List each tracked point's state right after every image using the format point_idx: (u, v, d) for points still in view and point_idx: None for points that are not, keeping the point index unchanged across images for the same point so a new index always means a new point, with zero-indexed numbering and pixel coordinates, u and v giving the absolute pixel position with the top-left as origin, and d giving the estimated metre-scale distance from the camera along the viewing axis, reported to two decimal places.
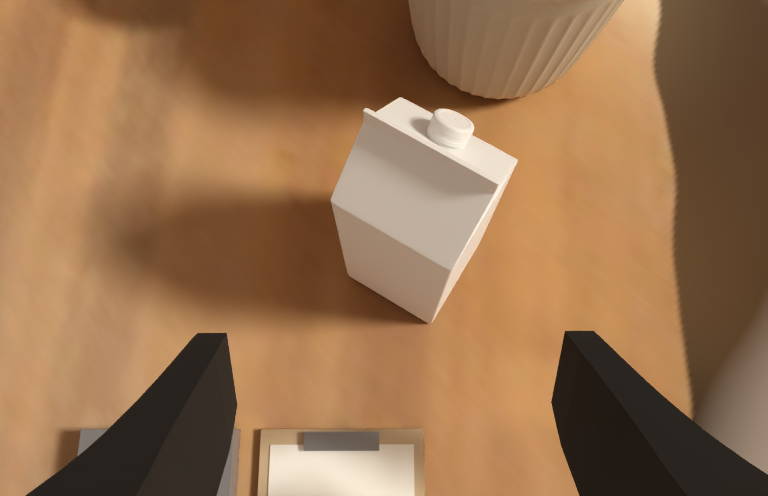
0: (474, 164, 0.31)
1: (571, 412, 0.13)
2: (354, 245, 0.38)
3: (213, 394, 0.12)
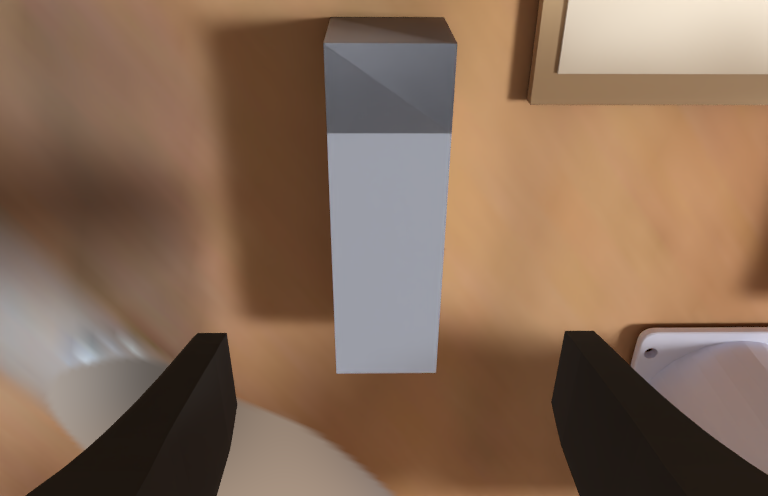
0: None
1: (571, 412, 0.13)
2: None
3: (213, 394, 0.12)
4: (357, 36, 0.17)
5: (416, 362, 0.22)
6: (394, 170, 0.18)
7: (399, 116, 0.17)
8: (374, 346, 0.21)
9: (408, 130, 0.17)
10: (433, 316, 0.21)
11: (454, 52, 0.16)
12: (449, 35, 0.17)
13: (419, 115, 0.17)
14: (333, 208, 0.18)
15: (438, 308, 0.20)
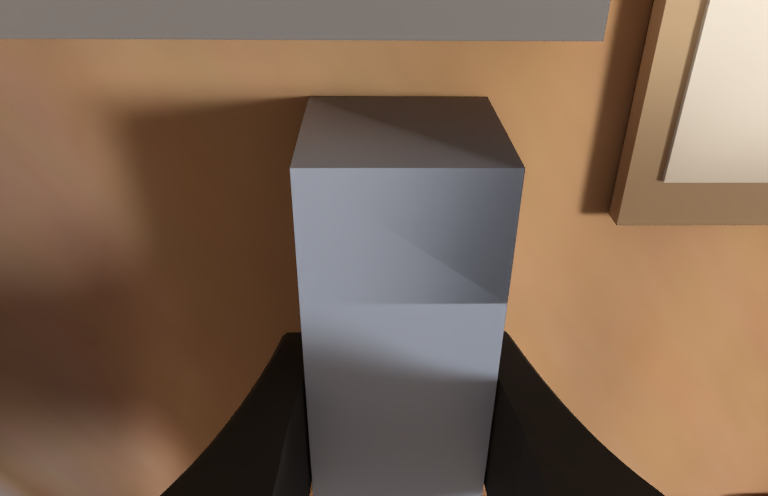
0: None
1: None
2: None
3: None
4: (350, 148, 0.10)
5: None
6: (410, 354, 0.11)
7: (421, 279, 0.10)
8: None
9: (435, 299, 0.10)
10: None
11: (519, 182, 0.09)
12: (506, 144, 0.10)
13: (455, 277, 0.10)
14: (312, 407, 0.12)
15: None
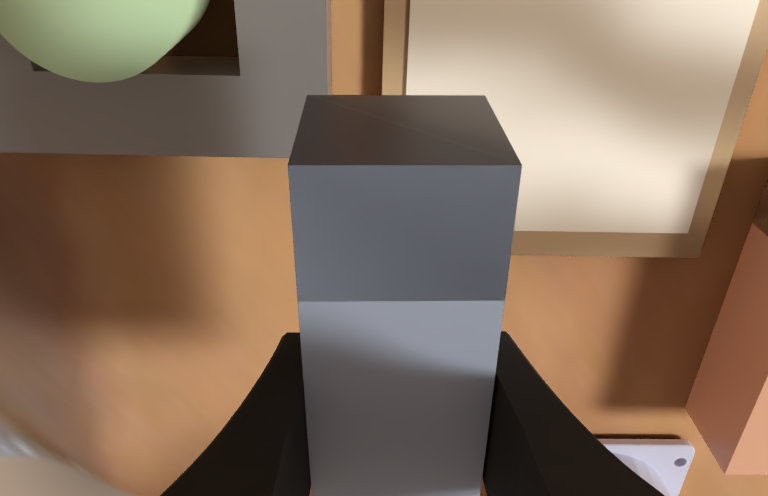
0: None
1: None
2: None
3: None
4: (348, 145, 0.10)
5: None
6: (408, 352, 0.11)
7: (418, 276, 0.10)
8: None
9: (432, 296, 0.10)
10: None
11: (516, 179, 0.09)
12: (503, 141, 0.10)
13: (452, 274, 0.10)
14: (310, 405, 0.12)
15: None
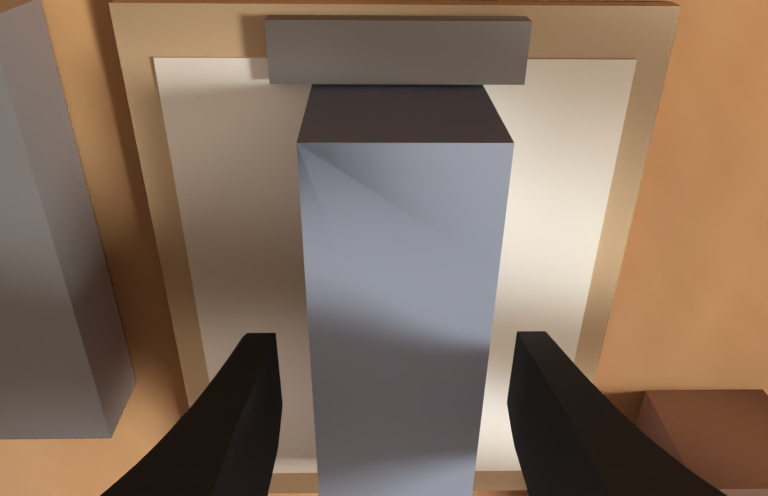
0: None
1: (522, 413, 0.13)
2: None
3: (266, 394, 0.12)
4: (352, 125, 0.11)
5: None
6: (408, 322, 0.12)
7: (418, 248, 0.11)
8: None
9: (431, 268, 0.11)
10: None
11: (509, 156, 0.10)
12: (497, 122, 0.11)
13: (449, 247, 0.11)
14: (316, 373, 0.12)
15: (469, 495, 0.14)
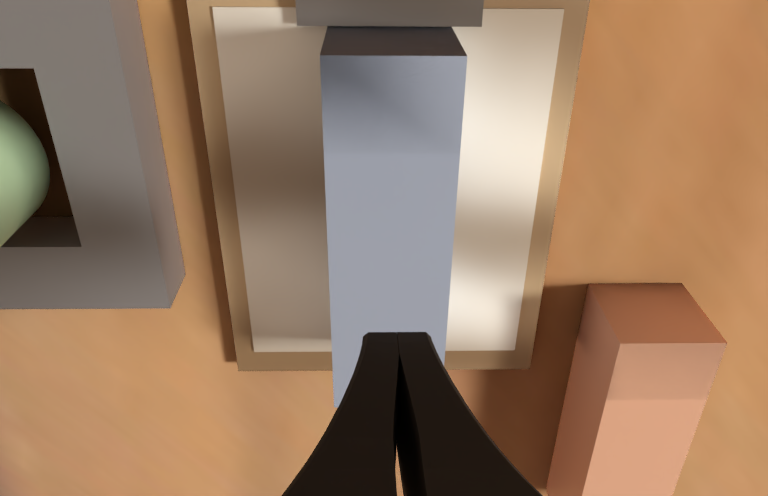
0: None
1: (398, 413, 0.13)
2: None
3: (397, 392, 0.12)
4: (357, 47, 0.15)
5: None
6: (397, 192, 0.16)
7: (403, 135, 0.16)
8: None
9: (412, 150, 0.16)
10: (439, 348, 0.19)
11: (464, 65, 0.15)
12: (458, 46, 0.15)
13: (425, 134, 0.16)
14: (330, 233, 0.17)
15: (444, 339, 0.19)
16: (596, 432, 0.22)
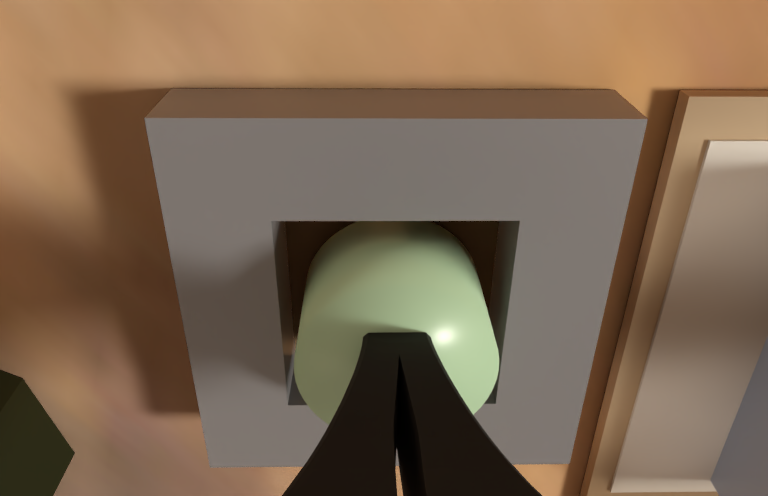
0: None
1: (398, 413, 0.13)
2: None
3: (397, 392, 0.12)
4: None
5: None
6: None
7: None
8: None
9: None
10: None
11: None
12: None
13: None
14: None
15: None
16: None
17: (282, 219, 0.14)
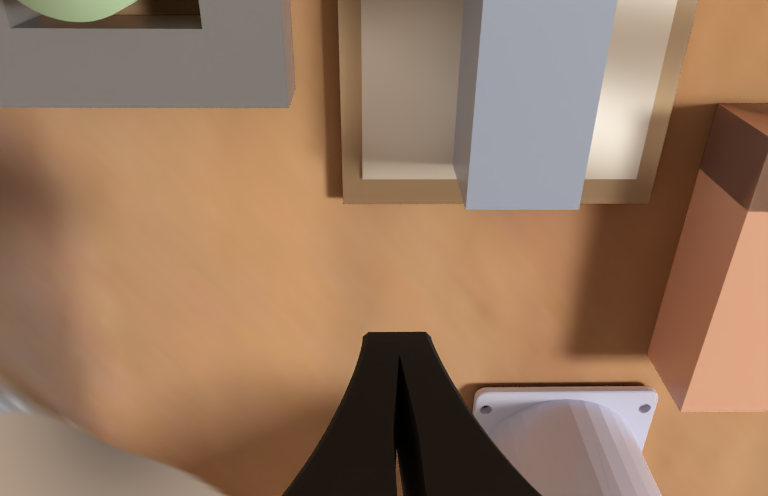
0: None
1: (398, 413, 0.13)
2: None
3: (397, 393, 0.12)
4: None
5: (558, 195, 0.19)
6: None
7: None
8: (512, 174, 0.18)
9: None
10: (586, 133, 0.18)
11: None
12: None
13: None
14: None
15: (593, 122, 0.18)
16: (731, 254, 0.21)
17: None
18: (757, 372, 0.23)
